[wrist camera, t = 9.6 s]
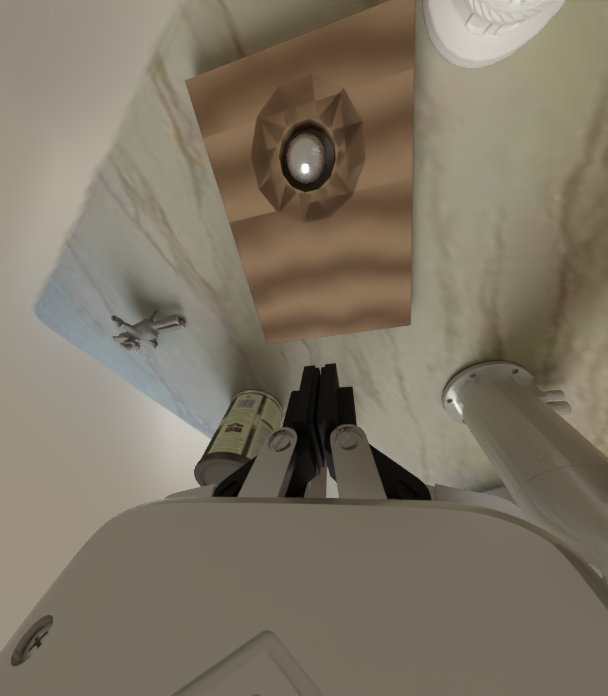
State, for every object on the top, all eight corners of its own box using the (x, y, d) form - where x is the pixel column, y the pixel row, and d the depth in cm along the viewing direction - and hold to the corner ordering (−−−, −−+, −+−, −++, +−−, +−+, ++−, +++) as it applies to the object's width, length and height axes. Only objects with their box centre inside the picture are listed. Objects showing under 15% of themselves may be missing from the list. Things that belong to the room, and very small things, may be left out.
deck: (405, 318, 33) (410, 325, 31) (271, 336, 37) (267, 344, 34) (406, 15, 20) (415, -10, 18) (198, 93, 24) (184, 80, 21)
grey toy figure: (198, 349, 40) (143, 365, 39) (192, 319, 42) (140, 334, 41) (165, 321, 30) (92, 342, 29) (160, 285, 32) (92, 303, 31)
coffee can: (253, 434, 49) (226, 507, 36) (220, 400, 45) (178, 469, 33) (294, 419, 45) (279, 494, 33) (262, 381, 41) (233, 450, 29)
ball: (322, 116, 21) (324, 161, 22) (326, 150, 25) (328, 188, 25) (280, 126, 22) (283, 169, 22) (290, 157, 26) (292, 194, 26)
